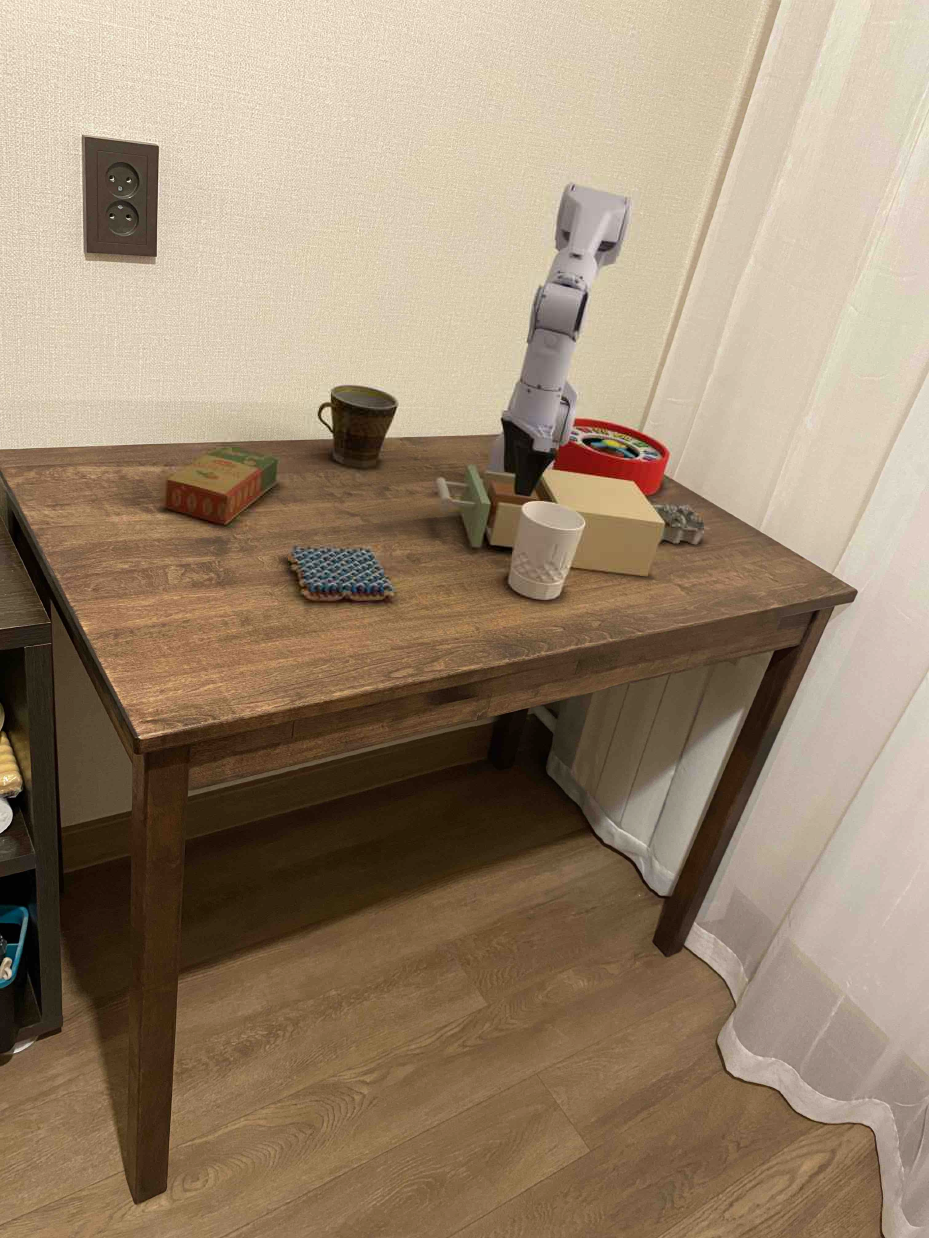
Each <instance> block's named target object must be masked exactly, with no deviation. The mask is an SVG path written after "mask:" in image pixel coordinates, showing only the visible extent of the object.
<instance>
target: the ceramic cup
mask: <svg viewBox="0 0 929 1238" xmlns="http://www.w3.org/2000/svg"><path fill="white" fill-rule="evenodd" d="M398 406H399V400H398V399H397V398H396V397H395V396H393V395H392V394H390V393H388V392H385V391H383V390H380V389H378V388H373V387H369V386H364V385H354V384H343V385H341V384H340V385H337V386H334V387H332V388H331V389H330V401H325V402H323V403H321V404H320V405H319V408H318V410H317V418H318V420H319V421H320V423H321V424H322V425H324V426H325V427H326V428H327V429H328V431H329V432H330V434H332V450H333V451H332V457H333V460H335V461H336V462H338V463H340V464H341V465H343V466H347V467H352V468H356V469H365V468H373V467H375V466H376V464H377V461H378V458H379V456H380V453H381V450H382V446H383V444H384V441H385V439H386V436H387V433H388V431H389V429H390V427H391V425H392V423H393V420H394V417H395V416H396V413H397V409H398ZM326 408H330V413H331V424H332V427H331V426H330V425H329V423H328V422H326V421H325V420H324V419H323V417H322V412H323V410H325V409H326Z"/></svg>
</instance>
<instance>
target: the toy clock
mask: <svg viewBox="0 0 929 1238" xmlns="http://www.w3.org/2000/svg"><path fill="white" fill-rule="evenodd" d="M557 451H558V456H557V458H556V459H555V460H554V464H553V468H552V470H559V471H566V472H572V473H579V474H586V475H593V476H600V477H606V478H613V479H620V480H627V481H633V482H634V483H635V484H636V485H637V487H638V488H639V489H640V491H641V492H642V493H643V495H644V496H649V495H652V494H654V493H656V492H657V491H659V489H660V486H661V483H662V480H663V477H664V475H665V470H666V468H667V465H668V463H669V459H670V455H671V454H670V451H669V449H668V448H667V447H666V446H665V445H664V444H662V442H660V441H658V440H657V439H655V438H654V437H651V436H650V435H647V434H646V433H643V432H640V431H639V430H635V429H633V428H630V427H628V426H623V425H621V424H618V423H613V422H609V421H604V420H598V419H590V418H583V417H582V418H579V417H575V420H574V424H573V427H572V431H571V434H570V438H569V441H568V443H567V444H566V445H564V446H560V444H559V447H558V450H557Z"/></svg>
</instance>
